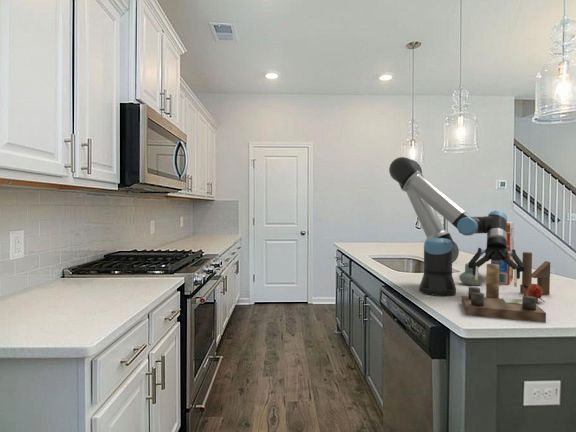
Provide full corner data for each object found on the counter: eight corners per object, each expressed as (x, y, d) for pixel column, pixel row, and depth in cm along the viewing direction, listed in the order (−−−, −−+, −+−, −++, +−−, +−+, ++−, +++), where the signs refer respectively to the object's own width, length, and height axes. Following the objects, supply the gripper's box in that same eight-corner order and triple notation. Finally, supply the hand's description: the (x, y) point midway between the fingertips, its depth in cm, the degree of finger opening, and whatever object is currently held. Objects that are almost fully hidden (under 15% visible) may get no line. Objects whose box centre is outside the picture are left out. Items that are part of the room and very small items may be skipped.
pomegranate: (536, 305, 163) (515, 288, 165) (550, 292, 160) (528, 276, 163) (540, 311, 156) (517, 294, 158) (554, 298, 154) (531, 281, 156)
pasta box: (509, 285, 193) (510, 223, 193) (490, 283, 198) (491, 222, 197) (512, 278, 212) (513, 221, 212) (495, 276, 217) (496, 221, 216)
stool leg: (486, 303, 156) (487, 265, 156) (485, 300, 160) (485, 263, 160) (499, 304, 154) (500, 265, 154) (497, 301, 159) (498, 264, 158)
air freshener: (465, 286, 190) (466, 265, 189) (456, 283, 198) (456, 263, 198) (487, 285, 191) (487, 265, 191) (476, 282, 199) (477, 262, 199)
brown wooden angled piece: (549, 294, 172) (550, 253, 172) (524, 294, 173) (524, 252, 172) (544, 292, 176) (545, 252, 175) (519, 292, 176) (520, 251, 176)
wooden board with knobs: (465, 315, 138) (466, 295, 138) (461, 303, 155) (462, 285, 155) (545, 322, 130) (546, 300, 130) (532, 308, 147) (532, 290, 147)
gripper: (530, 248, 165) (532, 291, 152) (465, 245, 177) (461, 285, 164) (531, 236, 160) (533, 280, 147) (464, 234, 172) (460, 274, 159)
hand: (495, 283), depth 156 cm, fingers open, 13 cm apart
